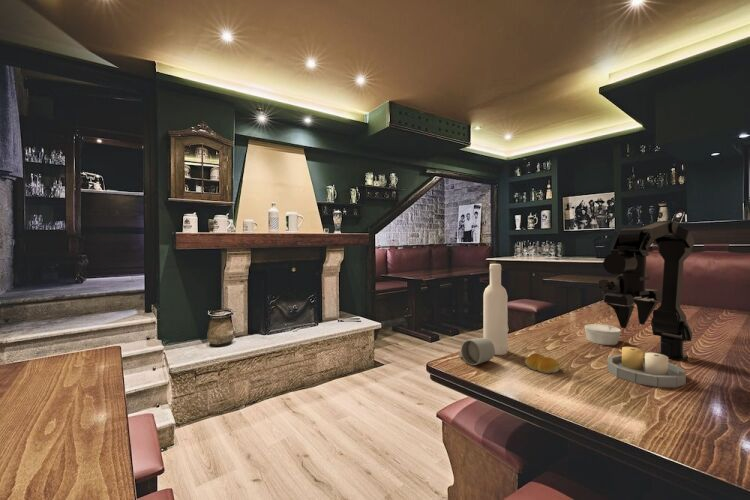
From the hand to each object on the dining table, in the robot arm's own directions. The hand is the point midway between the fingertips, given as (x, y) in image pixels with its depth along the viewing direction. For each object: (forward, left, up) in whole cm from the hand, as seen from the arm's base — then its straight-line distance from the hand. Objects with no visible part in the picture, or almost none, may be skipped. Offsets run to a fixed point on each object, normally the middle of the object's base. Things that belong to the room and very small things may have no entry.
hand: (632, 326), depth 100 cm
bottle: (+22, -31, -13) cm, 40 cm away
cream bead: (0, +6, -12) cm, 13 cm away
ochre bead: (0, 0, -12) cm, 12 cm away
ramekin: (-21, -21, -13) cm, 33 cm away
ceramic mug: (+35, -27, -13) cm, 46 cm away
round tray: (0, +3, -13) cm, 13 cm away
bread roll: (+21, -14, -13) cm, 28 cm away
